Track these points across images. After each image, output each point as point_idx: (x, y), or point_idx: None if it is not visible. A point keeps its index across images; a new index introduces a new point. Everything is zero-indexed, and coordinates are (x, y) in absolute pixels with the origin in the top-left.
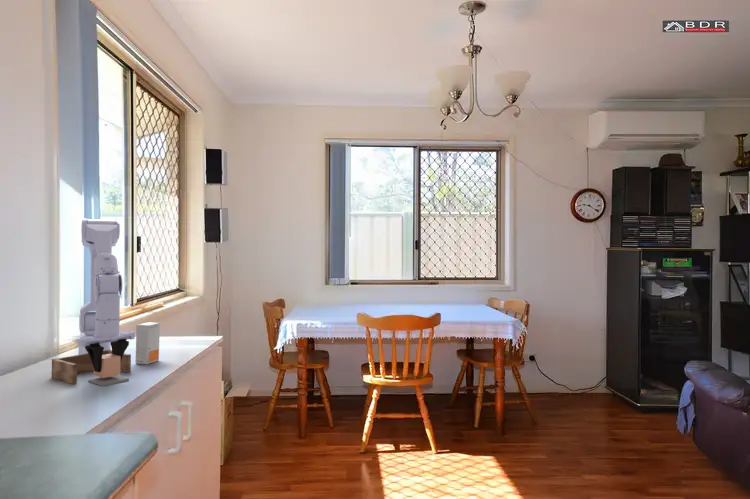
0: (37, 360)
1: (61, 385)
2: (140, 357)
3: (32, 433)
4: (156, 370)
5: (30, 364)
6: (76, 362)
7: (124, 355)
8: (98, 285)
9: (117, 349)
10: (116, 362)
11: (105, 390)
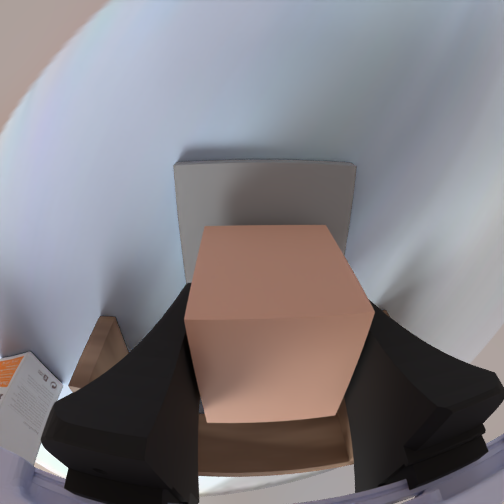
0: (252, 489)
1: (410, 321)
2: (41, 390)
3: None
4: (7, 253)
5: (279, 482)
6: (275, 448)
7: None
8: None
9: (181, 415)
10: (233, 280)
11: (392, 77)
